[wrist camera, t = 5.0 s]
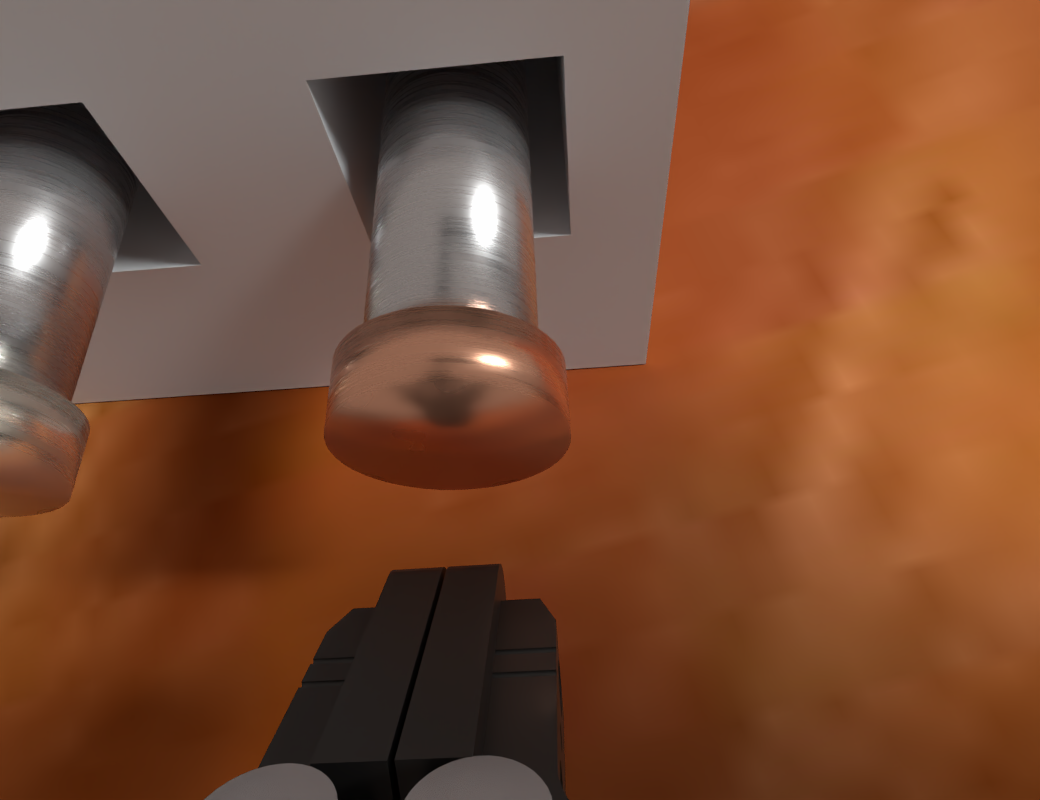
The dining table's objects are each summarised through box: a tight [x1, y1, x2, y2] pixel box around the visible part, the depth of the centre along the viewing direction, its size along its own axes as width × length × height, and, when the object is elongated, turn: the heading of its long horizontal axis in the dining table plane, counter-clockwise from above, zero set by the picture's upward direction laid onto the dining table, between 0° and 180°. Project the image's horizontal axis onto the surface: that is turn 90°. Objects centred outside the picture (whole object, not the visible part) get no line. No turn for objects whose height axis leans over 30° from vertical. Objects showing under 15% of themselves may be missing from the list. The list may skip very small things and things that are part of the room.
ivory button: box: [0, 102, 140, 517], centre depth 13 cm, size 9×4×4 cm, turn 2°
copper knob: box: [324, 59, 571, 490], centre depth 13 cm, size 9×4×4 cm, turn 2°
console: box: [0, 0, 690, 404], centre depth 18 cm, size 12×24×12 cm, turn 92°
